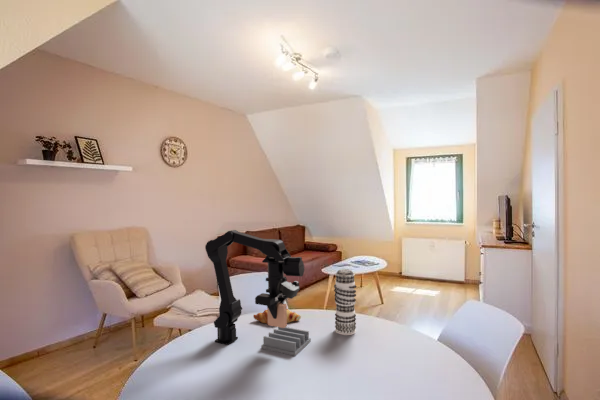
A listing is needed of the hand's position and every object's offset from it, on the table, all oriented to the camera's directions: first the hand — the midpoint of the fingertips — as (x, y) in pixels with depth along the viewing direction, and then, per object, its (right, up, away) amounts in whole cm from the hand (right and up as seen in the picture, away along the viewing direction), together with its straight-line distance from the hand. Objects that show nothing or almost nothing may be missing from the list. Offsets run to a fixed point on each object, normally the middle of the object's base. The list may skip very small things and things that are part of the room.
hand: (276, 317), depth 119 cm
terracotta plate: (0, -3, 0) cm, 3 cm away
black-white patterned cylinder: (+27, -11, +15) cm, 33 cm away
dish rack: (+4, -11, +3) cm, 12 cm away
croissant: (-2, -12, +27) cm, 29 cm away
